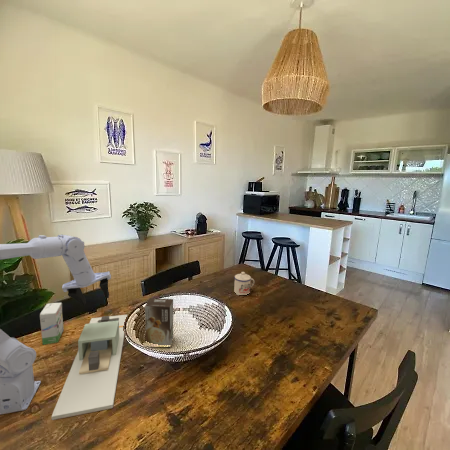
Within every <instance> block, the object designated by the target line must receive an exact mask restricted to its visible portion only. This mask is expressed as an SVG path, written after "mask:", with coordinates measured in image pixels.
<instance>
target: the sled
mask: <svg viewBox="0 0 450 450" xmlns="http://www.w3.org/2000/svg"><path fill="white" fill-rule="evenodd" d="M101 317H102V318H101V322H109V315H107V316H105V315H103V316H101ZM112 349H113V348H112V339H110V340H109V344H108V349H105V350H97V351H91V342H90V343H89V345H88V348H87V351H86V354H85V356H84V359H83V362H82V365H81V368H80V370H79V374H82V373H89V372H95V371H101V370H108V367H109V363H110V358H111V353H112Z"/></svg>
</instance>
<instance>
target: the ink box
mask: <svg viewBox="0 0 450 450" xmlns="http://www.w3.org/2000/svg"><path fill="white" fill-rule="evenodd" d="M39 320H40V329H41V330H40V331H41V332H40V333H41V342H42V345H51V344H56V343H59V341H60V339H61V337H62V334H63V332H64V321H63V320H64V318H63V303H62V302H53V303H52V302H51V303H46V304H45V306H44V307H43V309H42V310H41V312H40V313H39Z"/></svg>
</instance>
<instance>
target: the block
mask: <svg viewBox="0 0 450 450" xmlns="http://www.w3.org/2000/svg"><path fill="white" fill-rule="evenodd" d="M108 344H109V340H102V341H95V342H91V351H97V350H105V349H108Z"/></svg>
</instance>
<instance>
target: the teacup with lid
mask: <svg viewBox="0 0 450 450" xmlns="http://www.w3.org/2000/svg"><path fill="white" fill-rule="evenodd" d="M254 284H255V280H254V278H252V276H250V274H248V273H246V272H245V271H241V273H237V274H235V275H234V287H233V288H234V289H233V292H235V293H236V294H235V293H234V294H235V295H237V296H239V295H247V294H249V293H250V294H251V288H253V286H254ZM250 294H249V295H250ZM247 296H248V295H247Z"/></svg>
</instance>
